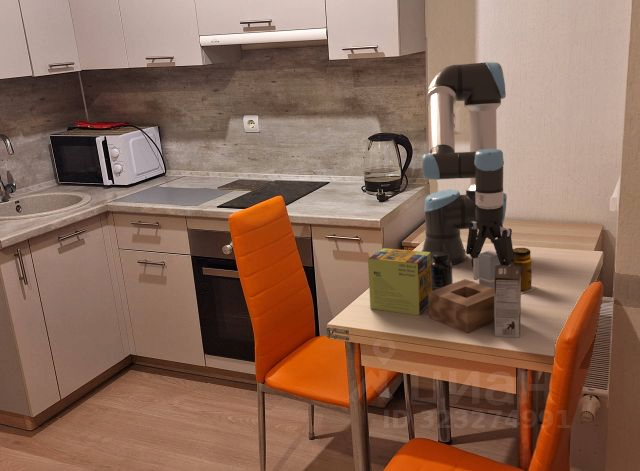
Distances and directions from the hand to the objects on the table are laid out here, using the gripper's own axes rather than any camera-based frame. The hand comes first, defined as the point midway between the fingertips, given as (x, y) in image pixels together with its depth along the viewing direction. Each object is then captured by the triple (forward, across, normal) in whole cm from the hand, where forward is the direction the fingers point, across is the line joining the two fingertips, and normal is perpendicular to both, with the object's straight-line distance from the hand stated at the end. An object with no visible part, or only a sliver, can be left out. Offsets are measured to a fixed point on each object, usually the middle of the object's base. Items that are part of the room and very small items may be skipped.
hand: (489, 282), depth 191 cm
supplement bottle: (+6, -15, -4) cm, 17 cm away
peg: (+5, 0, 0) cm, 5 cm away
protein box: (+6, -15, -20) cm, 26 cm away
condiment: (+6, 0, +12) cm, 14 cm away
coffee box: (+6, +17, -12) cm, 21 cm away
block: (+5, +4, -14) cm, 15 cm away
